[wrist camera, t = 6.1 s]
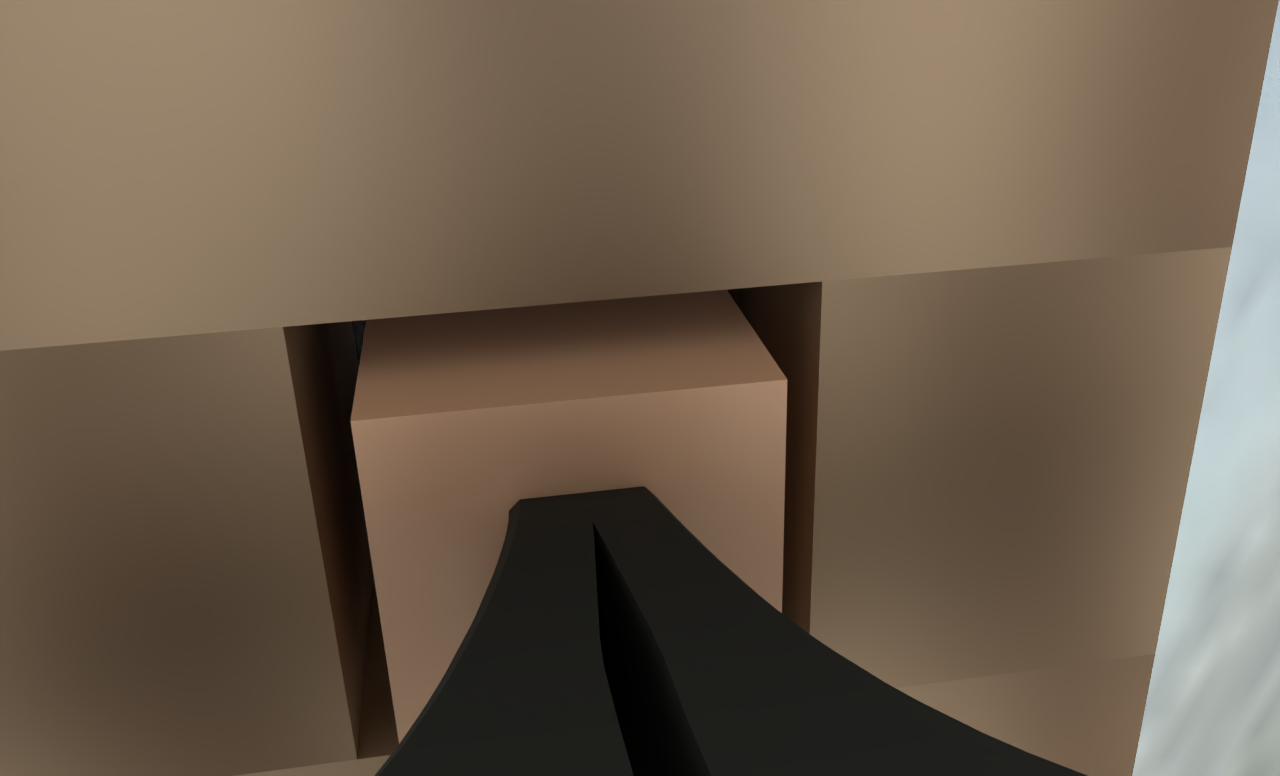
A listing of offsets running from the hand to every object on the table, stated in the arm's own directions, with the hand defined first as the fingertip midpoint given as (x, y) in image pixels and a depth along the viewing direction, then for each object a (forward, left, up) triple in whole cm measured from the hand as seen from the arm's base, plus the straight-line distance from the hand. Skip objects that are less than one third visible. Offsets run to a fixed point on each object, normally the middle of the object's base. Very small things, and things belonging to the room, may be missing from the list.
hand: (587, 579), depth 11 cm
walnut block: (0, -6, -6) cm, 9 cm away
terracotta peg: (0, 0, -6) cm, 6 cm away
